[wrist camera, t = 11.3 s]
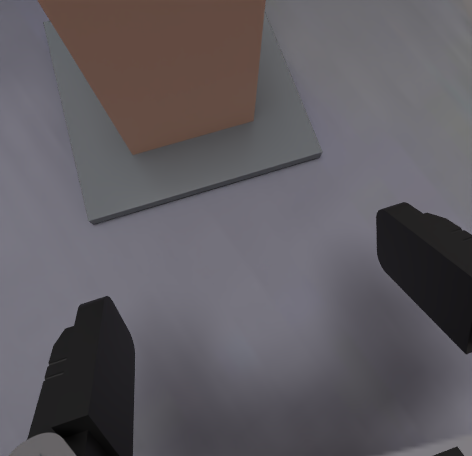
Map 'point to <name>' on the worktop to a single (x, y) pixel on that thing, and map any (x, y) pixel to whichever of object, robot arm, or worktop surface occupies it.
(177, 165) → the slate board
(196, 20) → the knobbed peach block
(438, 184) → the worktop surface
